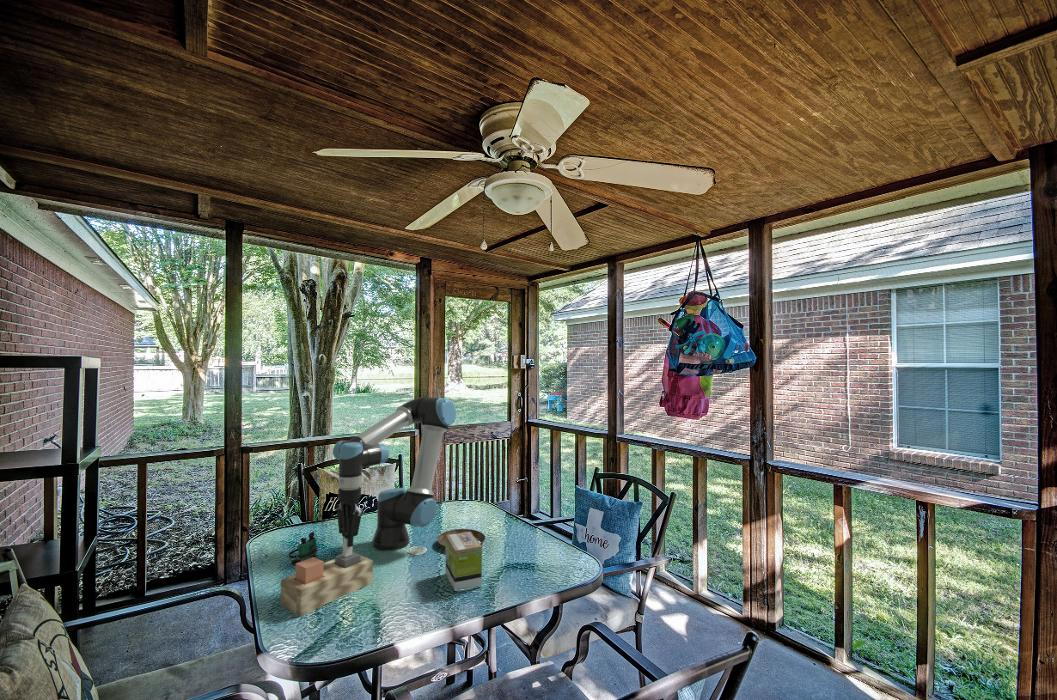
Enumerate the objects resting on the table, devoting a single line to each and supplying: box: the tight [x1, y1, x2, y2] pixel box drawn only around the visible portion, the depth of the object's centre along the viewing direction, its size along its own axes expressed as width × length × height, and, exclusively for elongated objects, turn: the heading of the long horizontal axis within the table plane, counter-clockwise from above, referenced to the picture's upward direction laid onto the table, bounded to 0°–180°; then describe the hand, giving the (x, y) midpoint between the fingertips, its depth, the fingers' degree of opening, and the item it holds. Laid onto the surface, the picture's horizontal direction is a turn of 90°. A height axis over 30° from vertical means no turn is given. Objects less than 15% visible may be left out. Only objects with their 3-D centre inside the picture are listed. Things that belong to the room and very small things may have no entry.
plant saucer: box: [436, 528, 486, 550], centre depth 195 cm, size 21×21×3 cm
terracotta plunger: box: [294, 557, 325, 585], centre depth 146 cm, size 6×6×8 cm
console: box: [279, 555, 374, 618], centre depth 152 cm, size 26×12×8 cm, turn 146°
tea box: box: [444, 532, 483, 591], centre depth 163 cm, size 15×10×15 cm, turn 23°
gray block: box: [334, 551, 362, 568], centre depth 158 cm, size 6×6×8 cm
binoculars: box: [288, 532, 318, 565], centre depth 176 cm, size 9×11×10 cm
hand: (347, 555), depth 158 cm, fingers closed
